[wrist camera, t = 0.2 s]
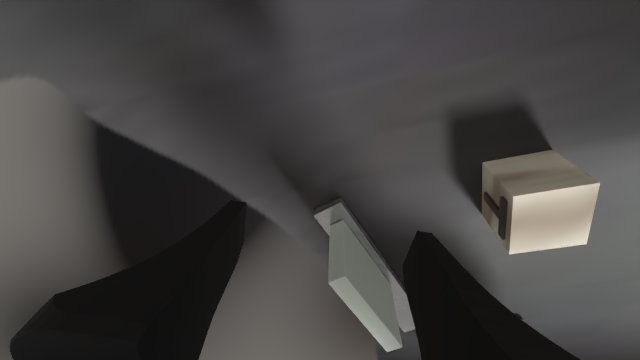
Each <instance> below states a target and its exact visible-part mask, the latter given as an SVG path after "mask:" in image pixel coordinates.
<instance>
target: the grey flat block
mask: <svg viewBox="0 0 640 360" xmlns="http://www.w3.org/2000/svg"><path fill="white" fill-rule="evenodd" d="M328 283H329V285H330V286H331V287H332V288H333V289H334V290H335V292H336V293H337V294H338V295H339V296H340V298H342V300H343V301H344V302H345V303H346V305H347V306H348V307H349V308H350V309H351V310H352V312H353V313H354V314H355V315H356V316H357V317H358V319H359V320H360V321H361V322H362V323H363V324H364V326H365V327H366V328H367V329H368V330H369V332H370V333H371V334H372V335H373V336H374V337H375V339H376V340H377V341H378V342H379V343H380V344H381V346H382V347H383V348H384V349H385V350H386V351H387V352H389V351H392V350H395V349H399V348H402V342H401V336H400V331H399V326H398V321H397V315H396V310H395V305H394V300H393V294H392V289H391V284H390V283H389V282H388V280H387V279H386V278H385V276H384V275H383V273H382V272H381V271H380V269H379V268H378V267H377V265H376V264H375V262H374V261H373V260H372V258H371V257H370V256H369V254H368V253H367V251H366V250H365V249H364V247H363V246H362V245H361V243H360V242H359V240H358V239H357V238H356V236H355V235H354V234H353V232H352V231H351V229H350V228H349V227H348V225H347V224H346V223H345V221H344V220H342V221H340V222H338V223H335V224H333V225H331V226H330V238H329V269H328Z"/></svg>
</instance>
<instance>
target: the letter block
mask: <svg viewBox="0 0 640 360" xmlns="http://www.w3.org/2000/svg"><path fill="white" fill-rule="evenodd" d="M599 186H600V182H599V181H597V180H596V179H594V178H593V177H591V176H590V175H588V174H587V173H586V172H584V171H583V170H581V169H580V168H578V167H577V166H575V165H574V164H573V163H571V162H570V161H568V160H567V159H565V158H564V157H562V156H561V155H559V154H558V153H557V152H555V151H554V150H548V151H543V152H537V153H531V154H526V155H520V156H515V157H509V158H504V159H498V160H492V161H487V162H482V215H483V216H484V218H485V219H486V221H487V222H488V224H489V225H490V227H491V228H492V230H493V231H494V233H495V234H496V236H497V237H498V239H499V240H500V241H501V243H502V244H503V246H504V247H505V249H506V250H507V252H508V253H509V254H515V253H523V252H530V251H538V250H545V249H553V248H560V247H568V246H575V245H583V244H587V240H588V235H589V231H590V226H591V222H592V217H593V213H594V208H595V204H596V199H597V195H598V191H599Z"/></svg>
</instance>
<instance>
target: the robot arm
mask: <svg viewBox="0 0 640 360" xmlns="http://www.w3.org/2000/svg"><path fill="white" fill-rule="evenodd" d="M245 216H246V203H245V202H239V201H233V200H231V201H230V202H228V203H227V204H226V205H225V206H224V207H222V208H221V209H220V210H219V211H218V212H217V213H215V214H214V215H213V216H212V217H211V218H209V219H208V220H207V221H205V222H204V223H203V224H202V225H200V226H199V227H198V228H196V229H195V230H194V231H192V232H191V233H189V234H188V235H187V236H185V237H184V238H182V239H181V240H179V241H178V242H176V243H175V244H173V245H171V246H170V247H168V248H167V249H165V250H163V251H161V252H160V253H158V254H156V255H154V256H152V257H150V258H148V259H146V260H144V261H142V262H140V263H138V264H136V265H134V266H132V267H130V268H127V269H125V270H122V271H120V272H118V273H115V274H113V275H110V276H108V277H105V278H103V279H100V280H97V281H95V282H92V283H89V284H86V285H83V286H80V287H77V288H74V289H71V290H68V291H65V292H62V293H58V294H55V295H54V296H53V297H52V298H51V299H50V300H49V301H48V302H47V303H45V305H43V306H42V307H41V308H40V310H39V311H38V312H37V313H36V314H35V315H34V316H33V317H32V318H31V319H30V320H29V321H28V322H27V324H25V325H24V326H23V328H22V329H21V330H20V331H19V332H18V333H17V334H16V335H15V336H14V337H13V338H12V339H11V342H10V352H11V355H12V358H13V359H14V360H198V359H199V356H200V353H201V350H202V347H203V344H204V341H205V338H206V335H207V332H208V329H209V326H210V323H211V321H212V318H213V315H214V313H215V311H216V308H217V306H218V303H219V301H220V299H221V297H222V295H223V293H224V291H225V288H226V286H227V284H228V282H229V279H230V277H231V275H232V273H233V271H234V268H235V266H236V264H237V261H238V258H239V255H240V252H241V249H242V245H243V242H244V232H245ZM403 275H404V284H405V290H406V294H407V298H408V303H409V307H410V310H411V314H412V318H413V322H414V326H415V330H416V334H417V338H418V342H419V347H420V352H421V358H422V360H580V359H579V358H577V357H575V356H573V355H572V354H570V353H569V352H567V351H566V350H564V349H563V348H561V347H559V346H558V345H556V344H555V343H553V342H552V341H550V340H549V339H547V338H546V337H544V336H543V335H542V334H540V333H539V332H537V331H536V330H535V329H533V328H532V327H530V326H529V325H528V324H526V323H525V321H524V320H522V319H520V318H518V317H517V316H516V315H515V314H513V313H512V312H511V311H510V310H508V309H507V308H506V307H505V306H504V305H502V304H501V303H500V302H499V301H498V300H497V299H495V298H494V297H493V296H492V295H491V294H490V293H489V292H488V291H486V290H485V289H484V288H483V287H482V286H481V285H480V284H479V283H478V282H477V281H476V280H475V279H474V278H473V277H472V276H471V275H470V274H469V273H468V272H467V271H466V270H465V269H464V268H463V267H462V266H461V265H460V263H459V262H458V261H457V260H456V259H455V258H454V257H453V256H452V255H451V254H450V253H449V251H448V250H447V249H446V248H445V247H444V246H443V245H442V244H441V243H440V242H439V241H438V239H437V238H436V237H435V236H434V235H433V234H432V233H426V232H420V231H417V233H416V235H415V238H414V240H413V242H412V245H411V247H410V250H409V252H408V254H407V257H406V259H405V262H404V264H403Z"/></svg>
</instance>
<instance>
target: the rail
mask: <svg viewBox="0 0 640 360" xmlns="http://www.w3.org/2000/svg"><path fill="white" fill-rule="evenodd" d="M314 217H315V218H316V220H317V221H318V222H319V224H320V225H321V226H322V227H323V229H324V230H325V231H326V233H327V234H328V235H329V236H330V226H331V225H333V224H335V223H338V222H340V221H342V220H344V221H345V223H346V224H347V225H348V227H349V228H350V229H351V231H352V232H353V234H354V235H355V236H356V238H357V239H358V240H359V242H360V243H361V245H362V246H363V247H364V249H365V250H366V251H367V253H368V254H369V256H370V257H371V258H372V260H373V261H374V262H375V264H376V265H377V267H378V268H379V269H380V271H381V272H382V273H383V275H384V276H385V278H386V279H387V280H388V282H389V283H390V284H391V289H392V294H393V300H394V305H395V310H396V315H397V321H398V325H399V327H400V328H401V329H402V330H403V332H408V331H411V330H414V329H415V326H414V322H413V318H412V314H411V310H410V307H409V303H408V298H407V294H406V290H405V287H404V286H403V284H402V283H401V282H400V280H399V279H398V277H397V276H396V274H395V273H394V272H393V270H392V269H391V267H390V266H389V264H388V263H387V262H386V260H385V259H384V257H383V256H382V255H381V253H380V252H379V250H378V249H377V247H376V246H375V245H374V243H373V242H372V240H371V239H370V237H369V236H368V235H367V233H366V232H365V230H364V229H363V227H362V226H361V225H360V223H359V222H358V220H357V219H356V218H355V216H354V215H353V213H352V212H351V210H350V209H349V208H348V206H347V205H346V203H345V202H344V200H343V199H342V198H341V197H339V198H337V199H335V200H333V201H331V202H329V203H327V204H325V205H323V206H321V207H319V208H317V209H315V210H314Z"/></svg>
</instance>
